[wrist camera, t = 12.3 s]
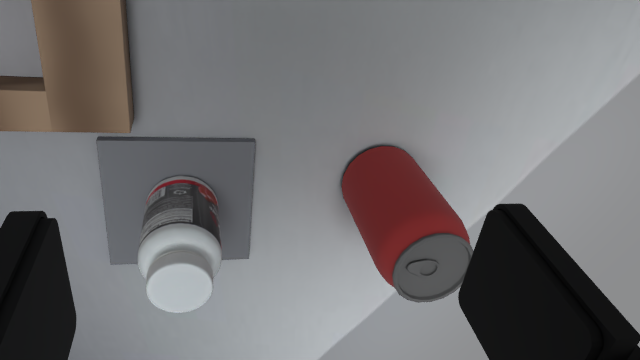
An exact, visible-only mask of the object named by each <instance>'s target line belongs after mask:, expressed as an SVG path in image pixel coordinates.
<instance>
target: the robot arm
mask: <svg viewBox="0 0 640 360" xmlns="http://www.w3.org/2000/svg"><path fill="white" fill-rule="evenodd" d="M458 298H459V304H460V307H461V309H462V311H463V313H464V314H465V316H466V318H467V320H468V322H469V324H470V325H471V327H472V329H473V331H474V333H475V334H476V336H477V338H478V340H479V342H480V343H481V345H482V347H483V349H484V351H485V353H486V354H487V356H488V358H489V360H640V348H639V347H638V345H637V344H638V343H639V341H640V334H639V333H638V332H637V331H636V330H635V329H634V328H633V327H632V325H631V324H630V323H629V322H628V321H627V320H626V319H625V318H624V316H623V315H622V314H621V313H620V312H619V311H618V310H617V309H616V307H615V306H614V305H613V304H612V303H611V302H610V301H609V300H608V298H607V297H606V296H605V295H604V294H603V293H602V292H601V290H600V289H598V287H597V286H596V285H595V284H594V283H593V281H592V280H591V279H590V278H589V277H588V276H587V275H586V274H585V272H584V271H583V270H582V269H581V268H580V267H579V266H578V265H577V263H576V262H575V261H574V260H573V259H572V258H571V257H570V256H569V254H568V253H567V252H566V251H565V250H564V249H563V248H562V247H561V245H560V244H559V243H558V242H557V241H556V240H555V239H554V237H553V236H552V235H551V234H550V233H549V232H548V231H547V230H546V228H545V227H544V226H543V225H542V224H541V223H540V222H539V221H538V219H536V217H535V216H534V215H533V214H532V213H531V212H530V210H529V209H528V208H527V207H526V206H525V205H523V204H498V205H496V206H495V207H494V209H493V210H491V211H489V212H488V214H487V216H486V219H485V221H484V224H483V227H482V230H481V232H480V235H479V238H478V241H477V243H476V247H475V249H474V252H473V254H472V257H471V260H470V263H469V266H468V268H467V271H466V274H465V277H464V280H463V282H462V285H461V288H460V291H459V297H458ZM75 329H76V311H75V306H74V302H73V297H72V292H71V287H70V282H69V277H68V272H67V267H66V262H65V257H64V252H63V247H62V242H61V237H60V232H59V227H58V223H57V220H56V219H55V218H47V215H46V214H45V212H43V211H14V212H10V213H9V214H8V215H7V217H6V219H5V221H4V223H3V224H2V226H1V228H0V360H68V356H69V352H70V349H71V345H72V341H73V338H74V334H75Z"/></svg>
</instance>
